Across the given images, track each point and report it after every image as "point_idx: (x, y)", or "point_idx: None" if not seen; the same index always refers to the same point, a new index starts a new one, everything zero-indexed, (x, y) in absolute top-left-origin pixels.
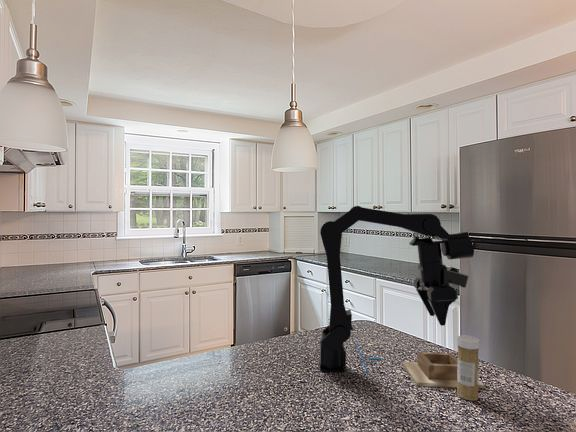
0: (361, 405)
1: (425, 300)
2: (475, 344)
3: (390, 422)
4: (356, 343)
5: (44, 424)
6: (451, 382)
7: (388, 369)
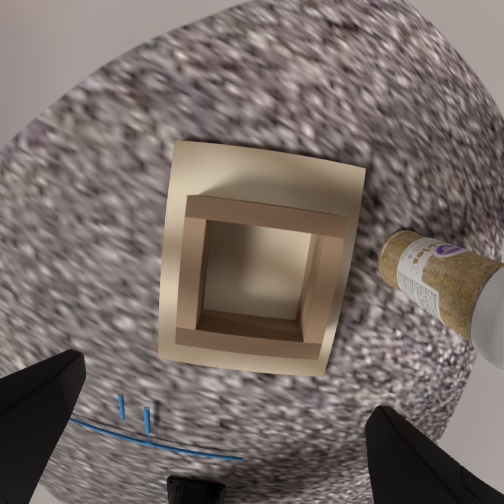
0: None
1: (24, 488)
2: None
3: None
4: None
5: None
6: (339, 273)
7: (201, 404)
